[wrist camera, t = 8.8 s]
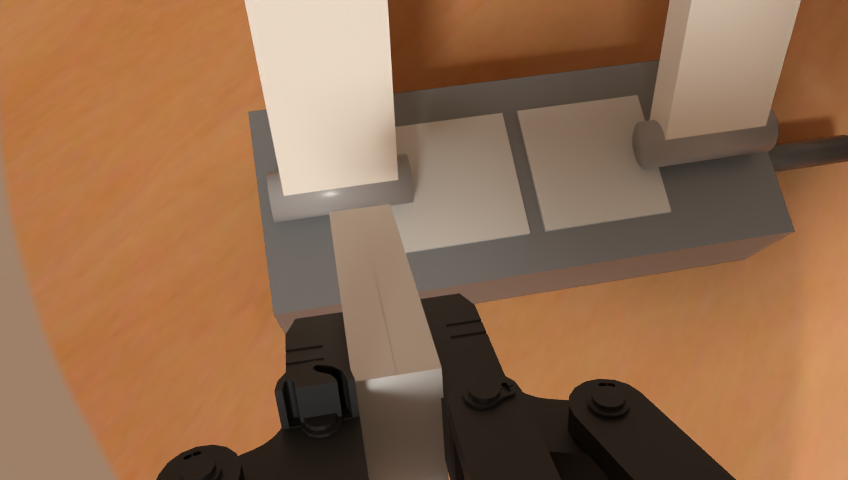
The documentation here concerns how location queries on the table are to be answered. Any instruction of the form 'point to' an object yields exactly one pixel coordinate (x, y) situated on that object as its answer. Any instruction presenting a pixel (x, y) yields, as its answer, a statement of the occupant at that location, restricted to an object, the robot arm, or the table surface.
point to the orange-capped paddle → (329, 105)
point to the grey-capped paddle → (716, 81)
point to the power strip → (541, 194)
